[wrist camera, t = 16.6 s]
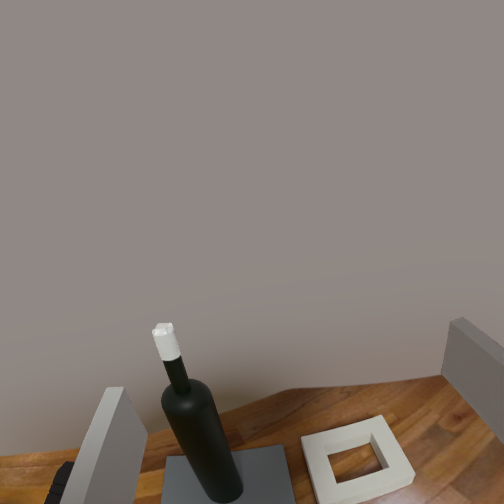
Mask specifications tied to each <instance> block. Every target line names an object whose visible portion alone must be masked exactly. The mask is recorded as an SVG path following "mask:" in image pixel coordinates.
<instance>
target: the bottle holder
mask: <svg viewBox="0 0 504 504" xmlns="http://www.w3.org/2000/svg"><path fill="white" fill-rule="evenodd" d="M301 443H302V449H303V453H304V457H305V460H306V464H307V468H308V471H309V475H310V479H311V482H312V486H313V490H314V493H315V497H316V500H317V504H357V503H360V502H363V501H366V500H369V499H372V498H375V497H378V496H381V495H384V494H386V493H389V492H392V491H394V490H397V489H399V488H402V487H404V486H407V485H409V484H411V483H412V481H413V479H414V476H415V472H414V470H413V468H412V467H411V465H410V463H409V461H408V460H407V458H406V456H405V454H404V453H403V451H402V449H401V447H400V446H399V444H398V442H397V440H396V439H395V437H394V435H393V433H392V432H391V430H390V428H389V427H388V425H387V423H386V421H385V420H384V418H383V416H382V415H380V416H377V417H374V418H370V419H367V420H364V421H361V422H357V423H354V424H350V425H347V426H343V427H340V428H336V429H332V430H328V431H324V432H320V433H316V434H311V435H307V436H302V437H301ZM367 443H370V444H371V446H372V448H373V450H374V452H375V454H376V456H377V458H378V460H379V462H380V464H381V466H382V468H383V470H380V471H378V472H375V473H372V474H369V475H366V476H362V477H359V478H356V479H353V480H349V481H346V482H342V483H339V484H337V483H336V480H335V477H334V474H333V472H332V469H331V466H330V463H329V460H328V457H327V455H329V454H333V453H337V452H340V451H344V450H348V449H351V448H354V447H358V446H361V445H364V444H367Z"/></svg>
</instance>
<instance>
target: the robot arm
mask: <svg viewBox="0 0 504 504" xmlns="http://www.w3.org/2000/svg"><path fill="white" fill-rule="evenodd" d="M441 374H442V375H443V376H444V377H445V378H446V379H447V380H448V382H449V383H450V384H451V385H452V386H453V387H454V388H455V389H456V390H457V391H458V393H459V394H460V395H461V396H462V397H463V398H464V399H465V400H466V401H467V403H468V404H469V405H470V406H471V407H472V408H473V409H474V410H475V412H476V413H477V414H478V415H479V416H480V417H481V418H482V420H483V421H484V422H485V423H486V424H487V425H488V427H489V428H490V429H491V430H492V431H493V432H494V434H495V435H496V436H497V437H498V438H499V440H500V441H501V442H502V443H503V444H504V348H503V347H502V346H500V345H499V344H498V343H497V342H495V341H494V340H493V339H491V338H490V337H489V336H487V335H486V334H485V333H484V332H482V331H481V330H479V329H478V328H477V327H476V326H474V325H473V324H472V323H470V322H469V321H468V320H466V319H465V318H464V317H462V318H459V319H456V320H454V321H451V322H450V326H449V332H448V338H447V344H446V350H445V355H444V360H443V365H442V369H441ZM147 436H148V433H147V432H146V430H145V428H144V426H143V424H142V422H141V420H140V418H139V416H138V414H137V412H136V410H135V408H134V406H133V404H132V402H131V400H130V398H129V396H128V394H127V392H126V390H125V387H107V389H106V391H105V393H104V395H103V397H102V400H101V402H100V404H99V406H98V409H97V411H96V413H95V415H94V418H93V420H92V423H91V425H90V427H89V430H88V432H87V434H86V437H85V439H84V441H83V444H82V446H81V449H80V451H79V454H78V456H77V459H76V461H75V462H68V461H66V462H65V463H64V464H63V465H62V466H61V467H60V468H59V470H58V471H57V473H56V475H55V477H54V480H53V485H51V487H50V490H49V494H48V495H47V498H46V500H45V503H44V504H133V503H134V498H135V493H136V488H137V483H138V478H139V473H140V468H141V463H142V459H143V454H144V450H145V445H146V441H147Z"/></svg>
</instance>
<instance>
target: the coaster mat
mask: <svg viewBox="0 0 504 504" xmlns="http://www.w3.org/2000/svg"><path fill="white" fill-rule="evenodd" d="M231 454H232V456H233V459H234V462H235V465H236V467H237V470H238V473H239V476H240V478H241V481H242V483H243V493H242V495H241V496H240V497H239V498H238V499H237V500H235V501H233V502H231V503H226V504H296V502H295V498H294V493H293V489H292V484H291V479H290V475H289V470H288V466H287V461H286V456H285V452H284V447H283V444H279V445H274V446H268V447H262V448H255V449H248V450H241V451H232V452H231ZM161 504H220V503H216V502H214V501H212V500H211V499H209V497H208V496H207V494H206V493H205V491H204V489H203V487H202V486H201V484H200V482H199V480H198V479H197V477H196V475H195V473H194V471H193V469H192V467H191V466H190V464H189V462H188V460H187V458H186V456H185V455H184V456H167V461H166V468H165V475H164V482H163V490H162V497H161Z"/></svg>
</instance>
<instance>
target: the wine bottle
mask: <svg viewBox="0 0 504 504" xmlns="http://www.w3.org/2000/svg"><path fill="white" fill-rule="evenodd" d="M155 328H156V329H154V330H152V333H153V337H154V340H155V343H156V346H157V349H158V351H159V354H160V357H161V359H162V360H163V363H164V366H165V369H166V371H167V374H168V377H169V380H170V382H171V384H170V385H169V386H168V387H167V388H166V389H165V390H164V392H163V395H162V398H161V403H162V408H163V410H164V412H165V415H166V417H167V419H168V421H169V423H170V425H171V428H172V430H173V432H174V434H175V436H176V438H177V440H178V442H179V444H180V446H181V448H182V450H183V452H184V454H185V456H186V458H187V460H188V462H189V464H190V466H191V467H192V469H193V471H194V473H195V475H196V477H197V479H198V480H199V482H200V484H201V486H202V487H203V489H204V491H205V493H206V494H207V496H208V497H209V499H211V500H212V501H214V502H216V503H220V504H226V503H231V502H233V501H235V500H237V499H238V498H239V497H240V496H241V495H242V493H243V483H242V481H241V478H240V476H239V473H238V470H237V467H236V465H235V462H234V459H233V456H232V454H231V451H230V448H229V445H228V442H227V439H226V436H225V434H224V431H223V428H222V425H221V422H220V419H219V416H218V412H217V409H216V406H215V403H214V400H213V397H212V394H211V392H210V390H209V388H208V387H207V386H206V385H205V384H204V383H202V382H200V381H198V380H195V379H188V376H187V373H186V370H185V367H184V364H183V361H182V357H181V351H180V348H179V345H178V342H177V338H176V335H175V332H174V328H173V326H172V323H171V322H170V323H168V324H167V323H161V324H158V325H157V326H156V327H155Z"/></svg>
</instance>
